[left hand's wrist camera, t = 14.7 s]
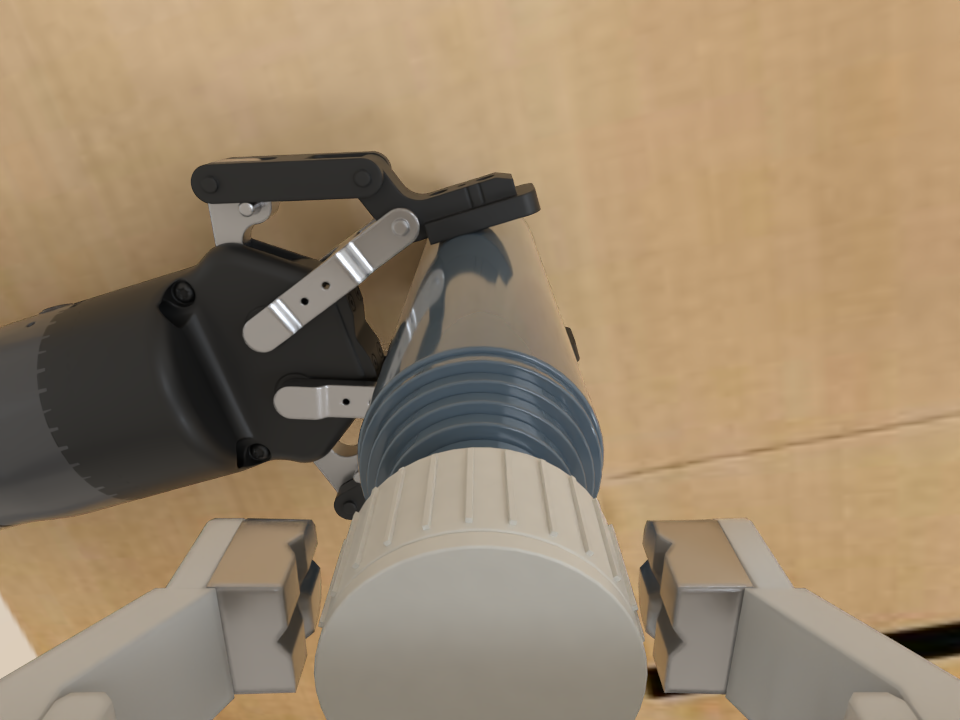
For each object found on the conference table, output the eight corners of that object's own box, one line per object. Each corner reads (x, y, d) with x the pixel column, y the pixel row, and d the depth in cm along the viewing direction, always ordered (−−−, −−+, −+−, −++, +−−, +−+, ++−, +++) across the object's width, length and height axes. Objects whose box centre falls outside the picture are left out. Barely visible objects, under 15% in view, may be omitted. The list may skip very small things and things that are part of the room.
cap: (632, 646, 11) (668, 779, 9) (381, 683, 11) (358, 821, 9) (598, 419, 9) (632, 514, 7) (310, 468, 10) (263, 575, 8)
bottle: (450, 318, 31) (384, 819, 10) (409, 220, 29) (224, 565, 8) (548, 282, 30) (708, 734, 9) (513, 180, 29) (606, 440, 8)
